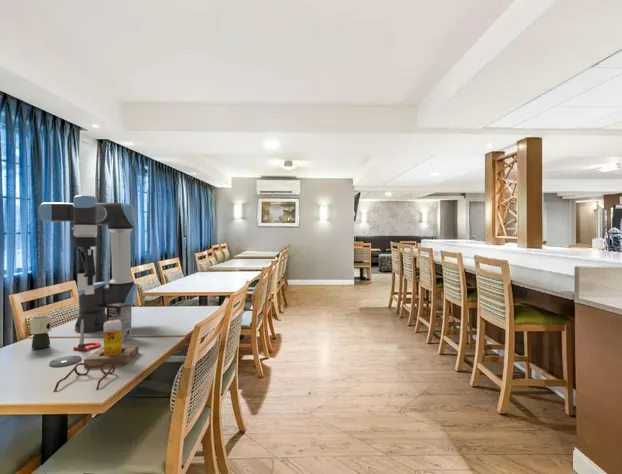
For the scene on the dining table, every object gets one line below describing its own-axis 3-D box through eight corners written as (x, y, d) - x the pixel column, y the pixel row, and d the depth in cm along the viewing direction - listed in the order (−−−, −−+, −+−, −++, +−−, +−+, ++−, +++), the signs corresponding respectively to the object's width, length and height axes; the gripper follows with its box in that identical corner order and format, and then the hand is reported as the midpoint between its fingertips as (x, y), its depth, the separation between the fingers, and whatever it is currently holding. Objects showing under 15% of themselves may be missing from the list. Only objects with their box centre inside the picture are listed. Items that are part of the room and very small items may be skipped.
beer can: (103, 363, 130) (102, 324, 130) (104, 358, 135) (104, 320, 135) (121, 361, 133) (121, 322, 132) (122, 356, 138) (121, 318, 138)
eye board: (102, 354, 140) (102, 346, 140) (138, 352, 142) (138, 345, 142) (84, 367, 126) (84, 359, 126) (124, 365, 128) (124, 357, 128)
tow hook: (88, 344, 154) (70, 350, 145) (89, 315, 154) (72, 319, 145) (105, 345, 152) (88, 351, 143) (106, 316, 153) (89, 320, 144)
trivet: (59, 357, 136) (59, 356, 136) (86, 356, 137) (86, 355, 137) (42, 367, 126) (42, 365, 126) (72, 366, 127) (72, 364, 127)
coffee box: (105, 339, 159) (105, 304, 159) (118, 335, 165) (118, 302, 165) (120, 341, 156) (119, 306, 156) (132, 337, 162) (131, 303, 162)
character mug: (49, 349, 145) (49, 319, 145) (28, 352, 142) (27, 321, 141) (52, 342, 155) (52, 313, 154) (32, 345, 151) (32, 315, 151)
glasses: (115, 374, 121) (115, 360, 121) (97, 391, 108) (97, 375, 108) (75, 376, 120) (75, 362, 120) (52, 393, 107) (52, 377, 107)
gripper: (67, 236, 138) (67, 289, 138) (80, 236, 120) (80, 297, 120) (89, 236, 143) (89, 287, 143) (104, 236, 125) (105, 294, 125)
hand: (85, 292), depth 131 cm, fingers open, 13 cm apart
